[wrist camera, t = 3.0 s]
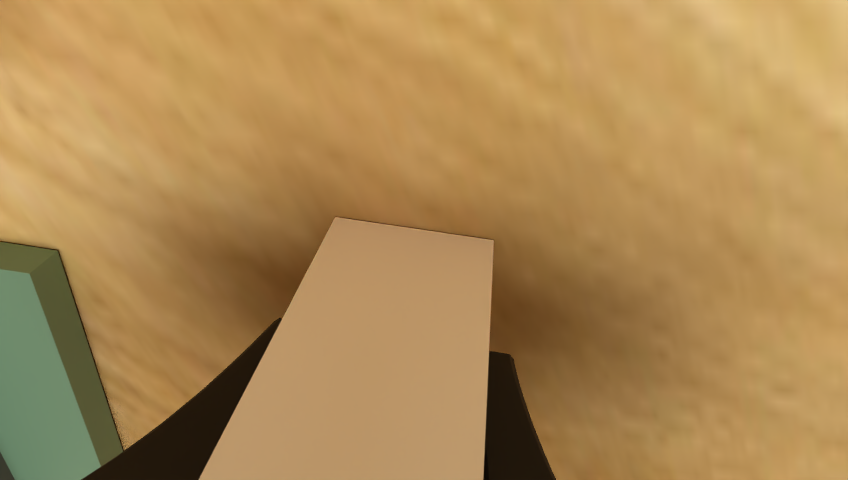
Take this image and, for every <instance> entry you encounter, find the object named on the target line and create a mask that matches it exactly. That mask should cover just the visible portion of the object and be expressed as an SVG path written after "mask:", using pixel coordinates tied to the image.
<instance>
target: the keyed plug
mask: <svg viewBox="0 0 848 480" xmlns="http://www.w3.org/2000/svg"><path fill="white" fill-rule="evenodd" d="M493 250H494V240H489V239H483V238H476V237H469V236H462V235H455V234H448V233H442V232H435V231H428V230H421V229H414V228H407V227H401V226H394V225H387V224H380V223H373V222H366V221H360V220H353V219H346V218H339V217H335V218H334V220H333V222H332V224H331V226H330V228H329V230H328V232H327V234H326V236H325V238H324V239H323V241H322V243H321V245H320V247H319V249H318V251H317V253H316V255H315V257H314V259H313V261H312V263H311V264H310V266H309V268H308V270H307V272H306V274H305V276H304V278H303V280H302V282H301V284H300V286H299V288H298V289H297V291H296V293H295V295H294V297H293V299H292V301H291V303H290V305H289V307H288V309H287V311H286V313H285V314H284V316H283V318H282V320H281V322H280V324H279V326H278V328H277V330H276V332H275V334H274V336H273V338H272V339H271V341H270V343H269V345H268V347H267V349H266V351H265V353H264V355H263V357H262V359H261V361H260V363H259V365H258V366H257V368H256V370H255V372H254V374H253V376H252V378H251V380H250V382H249V384H248V386H247V388H246V390H245V391H244V393H243V395H242V397H241V399H240V401H239V403H238V405H237V407H236V409H235V411H234V413H233V415H232V416H231V418H230V420H229V422H228V424H227V426H226V428H225V430H224V432H223V434H222V436H221V438H220V440H219V441H218V443H217V445H216V447H215V449H214V451H213V453H212V455H211V457H210V459H209V461H208V463H207V465H206V466H205V468H204V470H203V472H202V474H201V476H200V478H199V480H483V475H484V453H485V430H486V408H487V385H488V363H489V340H490V318H491V295H492V273H493Z"/></svg>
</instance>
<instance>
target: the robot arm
mask: <svg viewBox="0 0 848 480" xmlns="http://www.w3.org/2000/svg"><path fill="white" fill-rule="evenodd" d="M281 320H282V318H279V319H277V320H276V321H274V322H273V323H272V324H271V325H270V326H269V327H268V328H267V329H266V330H265V331H264V332H263V333H262V334H261V335H260V336H259V337H258V338H257V339H256V340H255V341H254V342H253V343H252V344H251V345H250V346H249V347H248V348H247V349H246V350H245V351H244V352H243V353H242V354H241V355H240V356H239V357H238V358H237V359H236V360H235V361H234V362H233V363H231V364H230V365H229V366H228V367H227V368H226V369H225V370H224V371H223V372H222V373H220V374H219V375H218V376H217V377H216V378H215V379H214V380H213V381H212V382H210V383H209V384H208V385H207V386H206V387H205V388H204V389H203V390H201V391H200V392H199V393H198V394H197V395H196V396H194V397H193V398H192V399H191V400H189V401H188V402H187V403H186V404H185V405H183V406H182V407H181V408H180V409H179V410H177V411H176V412H175V413H174V414H172V415H171V416H170V417H169V418H168V419H166V420H165V421H164V422H163V423H161V424H160V425H159V426H157V427H156V428H155V429H153V430H152V431H151V432H149V433H148V434H147V435H145V436H144V437H143V438H141V439H140V440H139V441H137V442H136V443H134V444H133V445H132V446H130V447H129V448H127V449H126V450H125V451H123V452H122V453H120V454H119V455H118V456H116V457H115V458H113V459H112V460H110V461H109V462H107V463H106V464H104V465H103V466H101V467H99V468H98V469H96V470H95V471H93V472H92V473H90V474H89V475H87V476H86V477H84V478H83V479H81V480H199V478H200V476H201V474H202V472H203V470H204V468H205V466H206V465H207V463H208V461H209V459H210V457H211V455H212V453H213V451H214V449H215V447H216V445H217V443H218V441H219V440H220V438H221V436H222V434H223V432H224V430H225V428H226V426H227V424H228V422H229V420H230V418H231V416H232V415H233V413H234V411H235V409H236V407H237V405H238V403H239V401H240V399H241V397H242V395H243V393H244V391H245V390H246V388H247V386H248V384H249V382H250V380H251V378H252V376H253V374H254V372H255V370H256V368H257V366H258V365H259V363H260V361H261V359H262V357H263V355H264V353H265V351H266V349H267V347H268V345H269V343H270V341H271V339H272V338H273V336H274V334H275V332H276V330H277V328H278V326H279V324H280V322H281ZM483 480H556V478H555V476H554V474H553V472H552V470H551V467H550V465H549V463H548V461H547V458H546V456H545V454H544V451H543V449H542V446H541V444H540V441H539V439H538V436H537V433H536V431H535V428H534V426H533V423H532V421H531V418H530V415H529V412H528V409H527V406H526V403H525V400H524V397H523V394H522V391H521V387H520V384H519V380H518V377H517V373H516V368H515V364H514V359H513V358H512V357H511V356H510V354H504V353H498V352H492V351H489V363H488V385H487V408H486V430H485V453H484V475H483Z"/></svg>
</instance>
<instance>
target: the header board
mask: <svg viewBox="0 0 848 480" xmlns="http://www.w3.org/2000/svg"><path fill="white" fill-rule="evenodd" d="M122 452H123V449H122V446H121V443H120V440H119V437H118V434H117V431H116V428H115V425H114V422H113V419H112V416H111V413H110V410H109V406H108V403H107V400H106V397H105V394H104V391H103V388H102V385H101V382H100V379H99V376H98V373H97V370H96V367H95V364H94V361H93V357H92V354H91V351H90V348H89V345H88V342H87V339H86V336H85V333H84V330H83V327H82V324H81V321H80V318H79V315H78V312H77V308H76V305H75V302H74V299H73V296H72V293H71V290H70V287H69V284H68V281H67V278H66V275H65V272H64V269H63V266H62V263H61V259H60V256H59V253H58V251H57V250H51V249H44V248H38V247H31V246H25V245H18V244H12V243H5V242H0V480H81V479H83V478H84V477H86V476H87V475H89V474H90V473H92V472H93V471H95V470H96V469H98V468H99V467H101V466H103V465H104V464H106V463H107V462H109V461H110V460H112V459H113V458H115V457H116V456H118V455H119V454H120V453H122Z"/></svg>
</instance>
